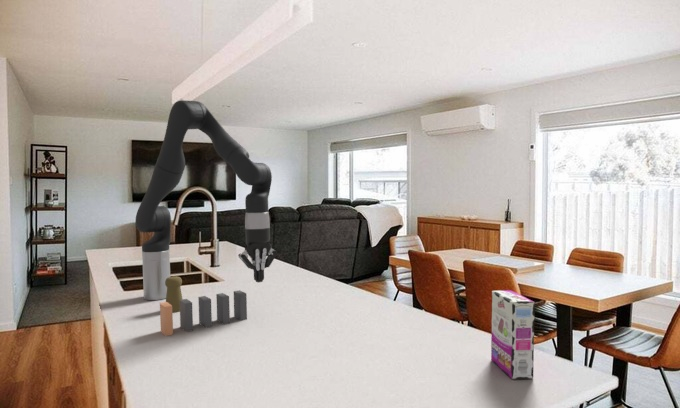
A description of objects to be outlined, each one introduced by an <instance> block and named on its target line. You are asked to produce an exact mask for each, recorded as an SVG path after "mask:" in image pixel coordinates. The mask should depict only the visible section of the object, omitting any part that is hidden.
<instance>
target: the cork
mask: <svg viewBox="0 0 680 408" xmlns="http://www.w3.org/2000/svg"><path fill="white" fill-rule="evenodd" d="M182 284H183V280H182V278H181V277H180V276H175V275H174V276H170V277H168V278H167V279H166V281H165V285H166V287H167V294H166V298H165V302H168V303H169V304H171V305H172V314H173V313H174V314H175V313H180V300H183V299H184V298H183V294H182V293H183V292H182V289H181V286H182Z"/></svg>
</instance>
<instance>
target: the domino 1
mask: <svg viewBox="0 0 680 408" xmlns="http://www.w3.org/2000/svg"><path fill="white" fill-rule="evenodd" d="M182 299H183V300H180V312H179V321H180V323H179V325H180V326H179V327H180V328H181V329H182V330H183V331H185V332H191V330H192V331H193V330H194V320H193V317H194V316H193V315H194V314H193V302H192V301H190V300H189V299H187V298H182Z"/></svg>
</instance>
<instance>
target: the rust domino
mask: <svg viewBox="0 0 680 408" xmlns="http://www.w3.org/2000/svg"><path fill="white" fill-rule="evenodd" d="M159 315H160V316H159V317H160V332H161V333H162V334H163V335H164V336H166V337H167V336H172V335H174V322H173V321H174V319H173V313H172V305H171V304H169V303H168V302H166V301H164V302H160V303H159Z"/></svg>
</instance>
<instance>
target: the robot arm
mask: <svg viewBox="0 0 680 408" xmlns="http://www.w3.org/2000/svg"><path fill="white" fill-rule="evenodd" d="M188 130H199V131H201V132H202V133H204V134H205V135H206V136H208V138H209V139H210V141H211V143H212V145H213V146H212V147H213V148H214V150H215V152H216V154H217V155H218V156H219V157H220V158H221V159H223V161H224V162H226V163H227V165H229V166H230V167H231V168H232V170H233V172H234V173H235V175H236V176H237V178H239V180H240V181H241V182H242V183H244V184H245V185H248V186H251V191H250V193H248V194H247V195H246V196H245V198H244V199H245V200H244V201H245V217H244V226H245V228H244V230H245V244H246V245H245V247H244V250H243V251H242V253H238V255H237V256H238V258H239V260H241V261H242V263H243V264H244V265H245V266H246V267H247V268H248V269H249V270H253V280H254V281H255V282H256V283H262V282H263V281H264V279H265V269H267V268H270V266H271V265H272V263H273V262H274V260H275V258H276V257H277V255H278V251H277V250H275V249H274V248H272V245H271V243H270V242H271V225H270V220H271V219H270V214H269V213H270V212H269V196H270V191H271V186H272V178H273V176H272V172H271V167H269V166H268V165H267V164H266V163H264V162H254V161H252V160H251V159H250V154H249V152H248V151H247V150H246V148H244V146H242V145H241V144H240V143H239V142H238V141H237V140H235V138H233V137H232V136H231V135H230V134H229V133H228V132H227V131H226V130H225V128H224V127H223V126H222V125H221V123H219V121H218V120H217V119H216V117H215V116H214V114H213V113H212V112H211V111H210V110H209V109H208V107H207V106H205V103H202V102H200V101H196V100H184V99H183V100H177V101H176V102H175V103H173V105H172V107H171V108H170V110H169V116H168V120H167V123H166V129H165V133H164V134H165V135H164V138H163V142H162V143H161V144H162V145H161V148H160V150H159V154H158V156H157V160H156V163H155V165H154V168H153V172H152V175H151V178H150V181H149V184H148V187H147V189H146V191H145V193H144V196H143V198H142V200H141V203H140V205H139V206H138V209H137V211H136V215H135V226H136V229H137V231H139V232H140V233H147V234H148V233H153V234H152V235H153V236H152V237H151V238H149V239H148V240H146V241H145V242H143V243H142V244H141V259H142V260H141V261H142V279H143V281H142V283H143V287H142V288H143V299H144V300H147V301H156V300H157V301H158V300H164V299H165V300H166V294H167V287H166V285H165V281H166V279H167V278H168V277H171V261H170V255H171V254H170V244H171V238H172V217H171V213H170V210H169V208H168V207H167V206H164V205H160V203H161V202H162V200H164V199H165V198H166V197H167V196H168V195H169V194H170V193H172V192H173V191H174V189H175V188H176V187H177V186H178V185H179V183H180V181H181V179H182V177H183V174H184V171H185V168H186V158H185V154H184V151H183V145H184V144H183V143H184V140H185V136H186V134H187V132H188ZM249 258H250V259H251V260H250V259H249Z"/></svg>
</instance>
